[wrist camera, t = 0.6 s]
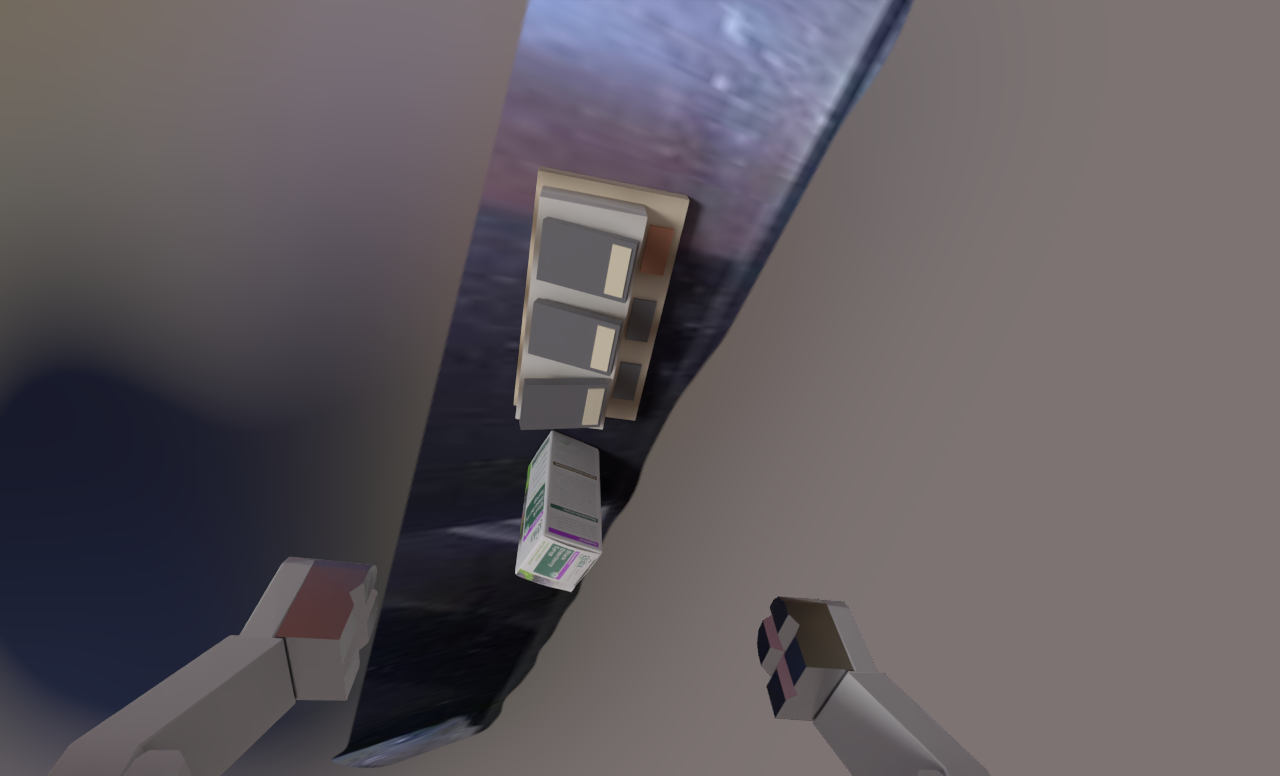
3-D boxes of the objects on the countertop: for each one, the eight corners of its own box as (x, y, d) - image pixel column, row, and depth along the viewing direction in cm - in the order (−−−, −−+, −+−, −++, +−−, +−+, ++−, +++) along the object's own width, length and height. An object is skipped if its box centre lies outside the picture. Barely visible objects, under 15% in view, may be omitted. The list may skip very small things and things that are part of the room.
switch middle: (538, 297, 44) (532, 302, 43) (623, 321, 44) (619, 326, 43) (532, 348, 47) (527, 354, 46) (612, 370, 46) (609, 377, 45)
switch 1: (547, 216, 41) (542, 219, 40) (639, 240, 41) (636, 245, 40) (540, 275, 43) (535, 279, 42) (627, 298, 43) (624, 304, 42)
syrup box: (551, 427, 58) (539, 534, 46) (601, 448, 60) (603, 556, 48) (527, 465, 60) (510, 576, 48) (577, 484, 62) (572, 595, 50)
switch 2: (524, 378, 46) (526, 386, 45) (605, 378, 49) (608, 385, 48) (519, 422, 49) (521, 430, 48) (596, 420, 51) (600, 427, 50)
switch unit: (539, 166, 44) (533, 183, 39) (687, 195, 46) (697, 215, 41) (515, 396, 56) (507, 432, 51) (634, 411, 58) (637, 447, 53)
